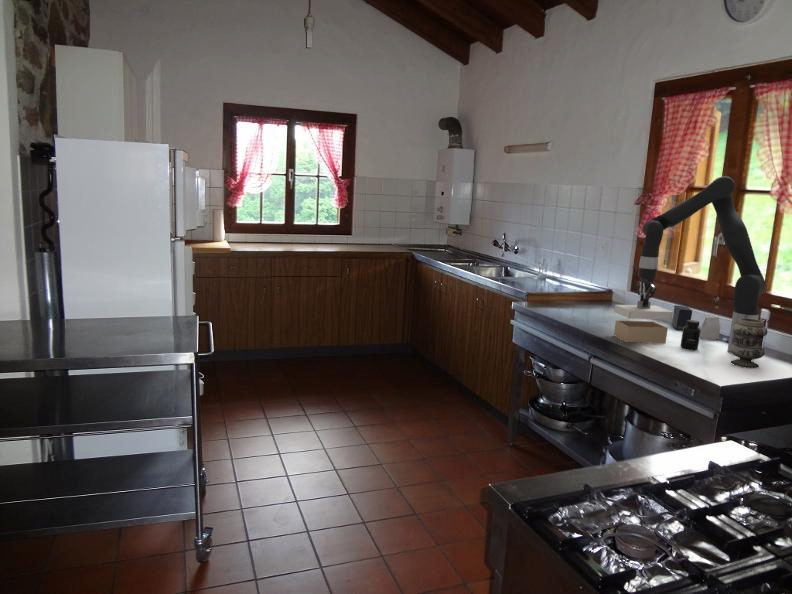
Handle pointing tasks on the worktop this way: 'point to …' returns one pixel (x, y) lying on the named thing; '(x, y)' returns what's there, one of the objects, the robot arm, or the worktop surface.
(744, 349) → the apothecary jar
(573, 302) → the worktop surface
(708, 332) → the printed product carton
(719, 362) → the worktop surface
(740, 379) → the worktop surface
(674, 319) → the small box
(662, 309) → the mailer lid
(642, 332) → the box
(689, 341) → the supplement bottle
